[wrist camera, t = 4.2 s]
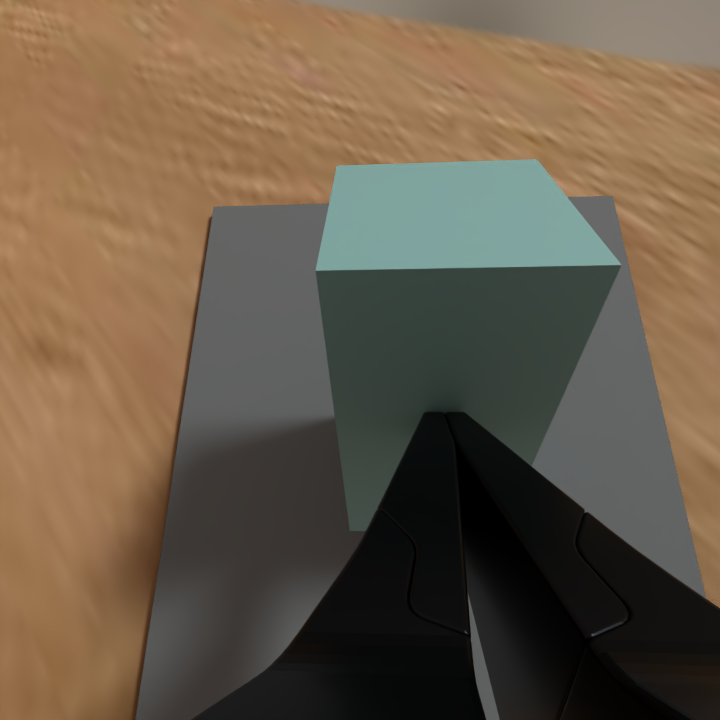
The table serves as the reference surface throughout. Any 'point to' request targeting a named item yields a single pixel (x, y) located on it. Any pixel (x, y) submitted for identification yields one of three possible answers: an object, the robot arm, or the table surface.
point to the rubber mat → (323, 465)
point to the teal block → (451, 306)
